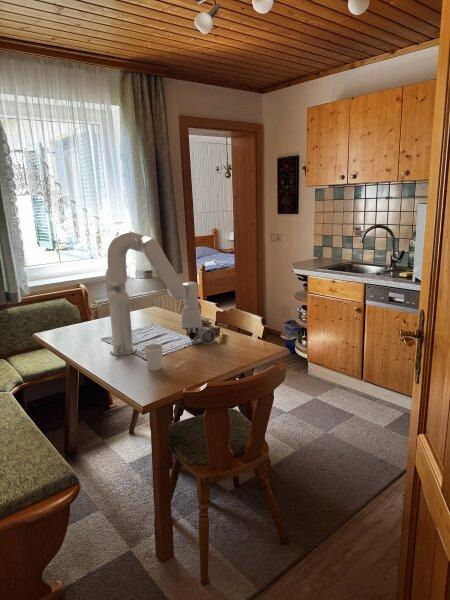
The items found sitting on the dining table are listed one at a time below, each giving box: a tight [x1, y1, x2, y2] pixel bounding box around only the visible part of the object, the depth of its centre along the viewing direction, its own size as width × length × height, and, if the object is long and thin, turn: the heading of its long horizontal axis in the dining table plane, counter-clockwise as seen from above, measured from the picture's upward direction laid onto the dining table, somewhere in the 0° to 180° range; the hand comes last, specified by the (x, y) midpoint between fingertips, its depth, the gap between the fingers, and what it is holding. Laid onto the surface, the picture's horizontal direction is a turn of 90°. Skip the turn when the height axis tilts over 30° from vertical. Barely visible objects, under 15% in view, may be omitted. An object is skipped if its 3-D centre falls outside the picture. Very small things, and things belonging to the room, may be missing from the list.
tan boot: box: [198, 301, 213, 328], centre depth 243 cm, size 15×12×15 cm
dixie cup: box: [143, 343, 164, 372], centre depth 182 cm, size 8×8×10 cm
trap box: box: [186, 326, 224, 345], centre depth 220 cm, size 17×20×4 cm
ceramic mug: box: [193, 327, 216, 345], centre depth 215 cm, size 11×8×8 cm
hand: (192, 339), depth 218 cm, fingers closed
